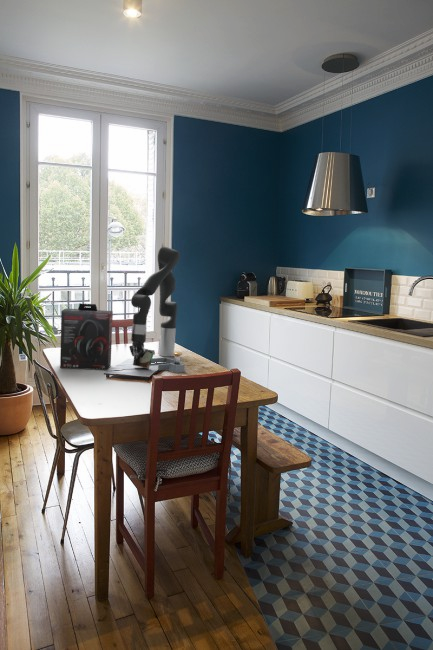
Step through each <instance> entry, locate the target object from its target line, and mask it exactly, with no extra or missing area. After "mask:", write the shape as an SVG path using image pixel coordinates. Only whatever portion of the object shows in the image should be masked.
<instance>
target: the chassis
mask: <svg viewBox="0 0 433 650" xmlns="http://www.w3.org/2000/svg"><path fill="white" fill-rule="evenodd" d="M174 361H175V359H173V358H169V357H167V356H162V357H156V358H155V357H154V358H152V361H151V363H155V362H156V363H157V362H166V363H159V364H158V365H157V370H158V371H167V370H168V372H170V373H176V374H177V373H185V369H186V364H184V361H180V364H174Z"/></svg>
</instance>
